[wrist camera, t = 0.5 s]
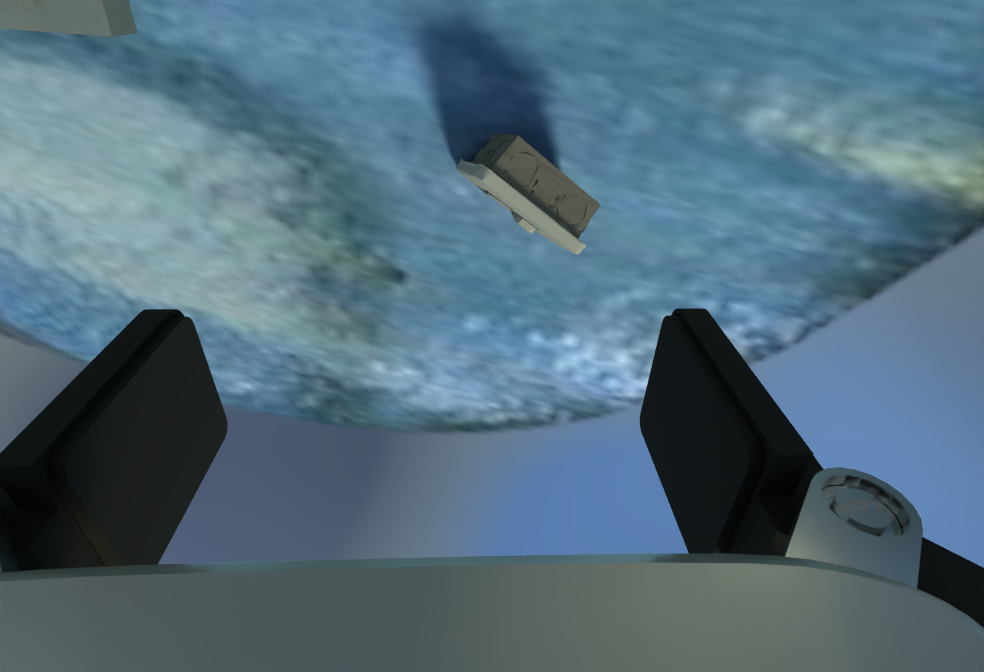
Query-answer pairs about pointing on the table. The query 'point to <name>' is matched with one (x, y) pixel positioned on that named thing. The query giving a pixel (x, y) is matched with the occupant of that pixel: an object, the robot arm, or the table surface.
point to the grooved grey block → (16, 4)
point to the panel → (73, 17)
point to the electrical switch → (531, 190)
